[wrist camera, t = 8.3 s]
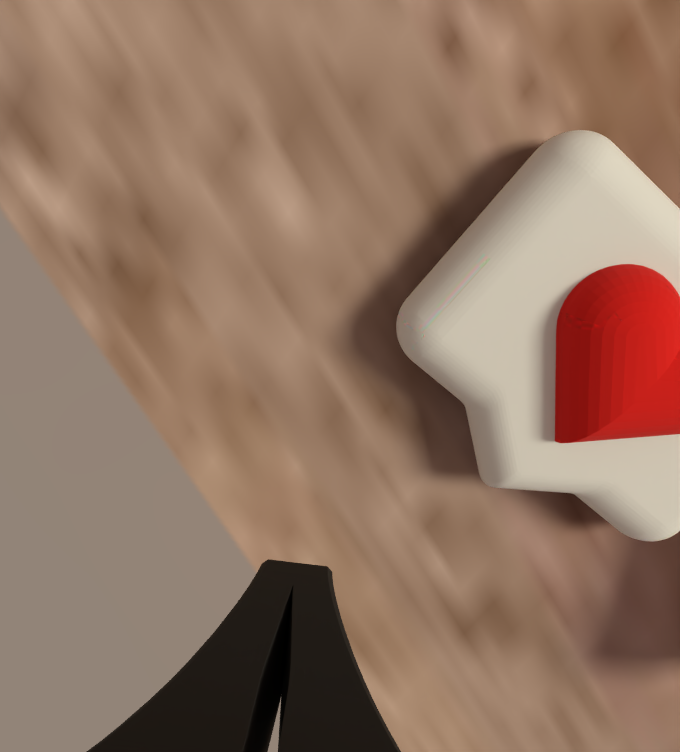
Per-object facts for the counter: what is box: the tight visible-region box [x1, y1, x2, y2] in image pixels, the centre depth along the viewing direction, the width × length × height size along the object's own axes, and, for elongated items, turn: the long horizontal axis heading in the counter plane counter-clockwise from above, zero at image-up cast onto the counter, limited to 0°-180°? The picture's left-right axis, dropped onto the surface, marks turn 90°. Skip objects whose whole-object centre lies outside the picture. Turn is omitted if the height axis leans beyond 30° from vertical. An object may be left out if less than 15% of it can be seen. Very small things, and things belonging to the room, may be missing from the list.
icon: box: [396, 130, 680, 541], centre depth 18 cm, size 12×4×10 cm
